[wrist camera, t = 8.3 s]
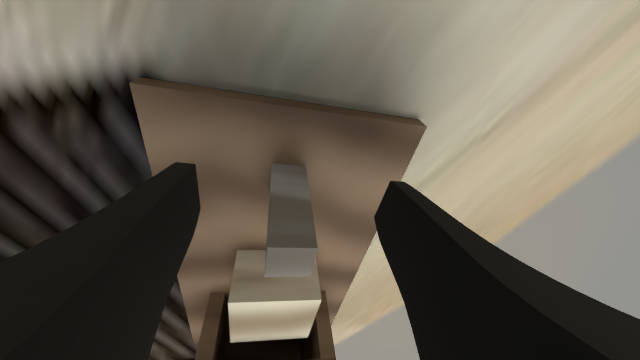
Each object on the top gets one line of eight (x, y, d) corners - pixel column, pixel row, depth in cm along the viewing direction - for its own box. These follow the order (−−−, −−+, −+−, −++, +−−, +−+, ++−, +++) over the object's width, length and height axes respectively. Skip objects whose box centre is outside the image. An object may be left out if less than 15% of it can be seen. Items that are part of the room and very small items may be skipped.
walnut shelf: (324, 327, 31) (334, 403, 25) (196, 333, 27) (174, 423, 22) (419, 119, 15) (507, 198, 9) (139, 77, 11) (-5, 157, 6)
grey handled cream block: (303, 290, 23) (310, 367, 18) (237, 292, 22) (225, 375, 17) (337, 169, 15) (364, 248, 10) (235, 160, 14) (211, 246, 9)
